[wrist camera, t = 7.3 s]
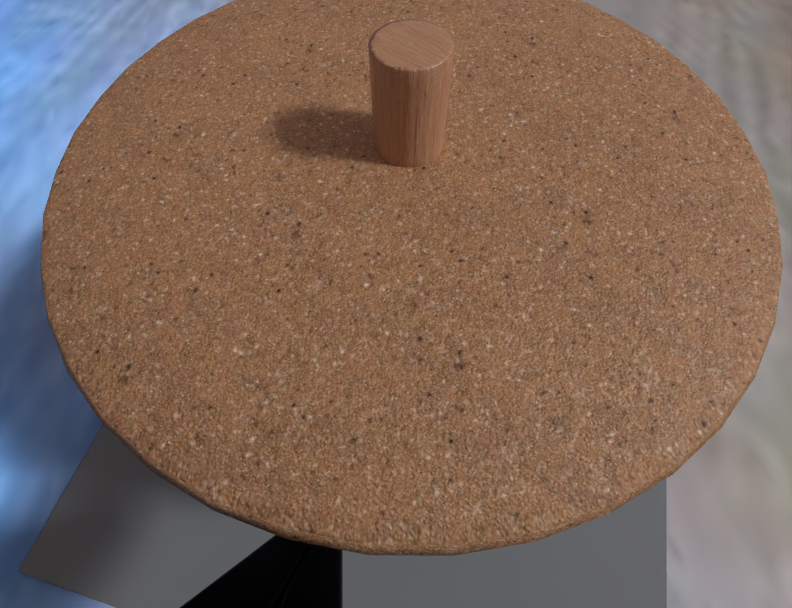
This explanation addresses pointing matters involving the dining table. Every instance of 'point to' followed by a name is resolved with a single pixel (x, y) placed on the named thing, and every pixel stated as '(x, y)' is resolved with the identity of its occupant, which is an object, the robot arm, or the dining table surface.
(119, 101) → the lidded bowl
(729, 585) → the dining table surface
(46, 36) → the dining table surface
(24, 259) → the dining table surface
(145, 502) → the placemat
